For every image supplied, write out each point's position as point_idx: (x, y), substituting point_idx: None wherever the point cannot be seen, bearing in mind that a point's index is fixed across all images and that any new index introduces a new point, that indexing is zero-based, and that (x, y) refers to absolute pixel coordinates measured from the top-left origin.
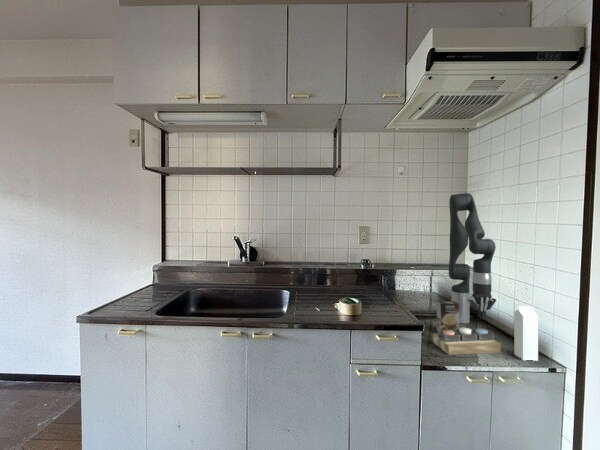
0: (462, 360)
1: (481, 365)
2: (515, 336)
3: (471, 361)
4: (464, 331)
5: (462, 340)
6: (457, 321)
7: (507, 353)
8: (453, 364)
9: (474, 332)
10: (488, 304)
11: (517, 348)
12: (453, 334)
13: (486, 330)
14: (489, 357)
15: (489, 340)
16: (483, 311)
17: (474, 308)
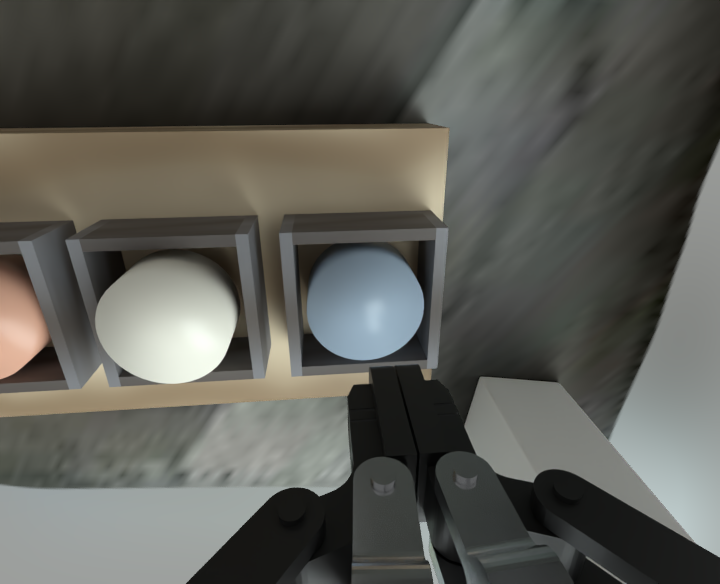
0: (98, 439)
1: (187, 486)
2: (529, 481)
3: (151, 449)
4: (136, 370)
5: None
6: None
7: (447, 365)
8: (22, 478)
9: (286, 303)
10: (664, 572)
11: (489, 437)
12: (14, 370)
13: (420, 308)
14: (293, 409)
15: None
16: (419, 516)
17: (270, 517)
